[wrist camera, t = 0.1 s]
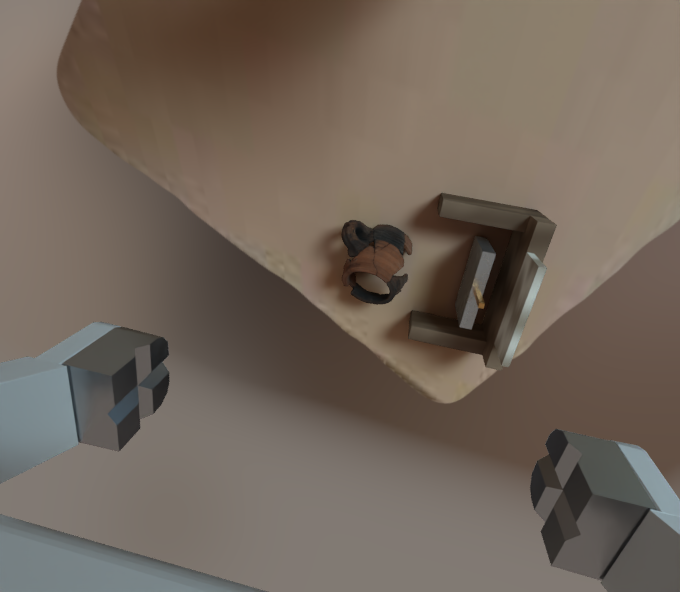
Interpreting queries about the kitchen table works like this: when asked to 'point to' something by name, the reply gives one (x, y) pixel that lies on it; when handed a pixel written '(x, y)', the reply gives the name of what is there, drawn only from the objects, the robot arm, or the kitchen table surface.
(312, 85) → the kitchen table surface
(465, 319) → the grey flat panel
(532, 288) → the stand
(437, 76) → the kitchen table surface
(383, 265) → the pottery mug
